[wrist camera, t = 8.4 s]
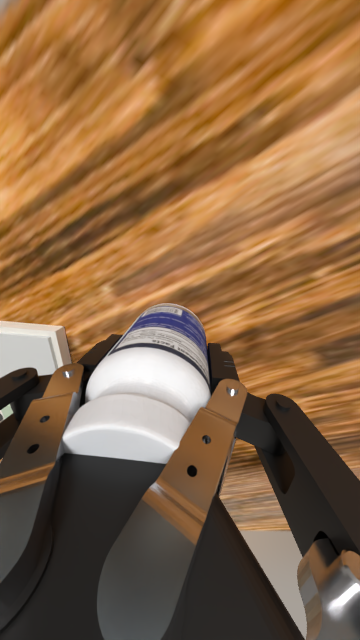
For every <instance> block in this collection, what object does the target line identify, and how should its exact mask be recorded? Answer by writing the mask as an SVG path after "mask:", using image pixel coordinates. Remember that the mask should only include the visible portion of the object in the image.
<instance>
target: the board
mask: <svg viewBox="0 0 360 640" xmlns="http://www.w3.org/2000/svg"><path fill="white" fill-rule="evenodd" d="M71 363H72V362H71V357H70V353H69V348H68V343H67V338H66V334H65V329H64V326H54V325H42V324H31V323H19V322H8V321H0V378H1V377H3V376H5V375H7V374H8V373H10V372H12V371H15V370H18V369H21V368H27V367H32V368H35V369H36V370H37V372H38V376H41V375H50V374H53V373H54V372H55V370H57V369H58V368H60V367H61V366H64V365H67V364H71ZM12 413H13V411H12V409H11V406H10V404H9V405H7V406H6V407H4V408H3V409H2V410H0V422H2V421H3V420H4V419H6V418H7V417H8V416H10V415H11V414H12Z"/></svg>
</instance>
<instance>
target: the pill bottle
mask: <svg viewBox="0 0 360 640" xmlns="http://www.w3.org/2000/svg"><path fill="white" fill-rule="evenodd" d="M210 398H211V386H210V376H209V365H208V354H207V344H206V335H205V330H204V327H203V325H202V323H201V321H200V320H199V319H198V317H197V316H196V315H195V314H194V313H193V312H191V311H190V310H188V309H187V308H185V307H183V306H180V305H176V304H170V303H166V304H159V305H155V306H152V307H150V308H148V309H147V310H145V311H144V312H143V313H142V314H141V315H140V316H139V317H138V318H137V319H136V320H135V322H134V323H133V324H132V325H131V326H130V328H129V329H128V330H127V331H126V333H125V334H124V335H123V336H122V337H121V339H120V340H119V341H118V342H117V343H116V344H115V346H114V347H113V348H112V349H111V350H110V351H109V353H108V354H107V355H106V356H105V357H104V359H103V360H102V361H101V362H100V363H99V365H98V366H97V367H96V369H95V370H94V372H93V373H92V375H91V377H90V379H89V381H88V384H87V388H86V394H85V404H84V405H83V406H82V407H81V408H79V410H78V411H77V412H76V413H75V414H74V416H73V417H72V419H71V421H70V422H69V424H68V426H67V428H66V430H65V431H64V433H63V436H62V442H63V446H64V449H65V452H64V453H71V454H81V455H91V456H101V457H111V458H120V459H129V460H137V461H146V462H154V463H163V464H167V462H168V461H169V459H170V457H171V456H172V454H173V452H174V451H175V450H176V449H177V448H178V447H179V444H180V441H181V439H182V437H183V436H184V434H185V432H186V430H187V429H188V427H189V425H190V424H191V422H192V420H193V419H194V417H195V415H196V414H197V412H198V410H199V409H200V408H201V407H202V406H203V407H206V405H207V403H208V401H209V400H210Z"/></svg>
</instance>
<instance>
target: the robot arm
mask: <svg viewBox="0 0 360 640" xmlns="http://www.w3.org/2000/svg"><path fill="white" fill-rule="evenodd" d="M122 336H123V335H117V334H112V335H110V336H109V337H108V338H107V339H106V340H103V341H101V342H99V343H97V344H96V345H95V346H94V347H93V348H92V349H91V350H90V351H89V352H88V353H86V354H85V355H84V356H83V357H82V358H81V359H80V360H79V361H78V362H77V363H71V364H67V365H64V366H61V367H60V368H58V369H57V370H55V372H54V373H53V374H50V375H41V376H38V372H37V370H36V369H35V368H32V367H27V368H21V369H18V370H15V371H12V372H10V373H8V374H7V375H5V376H3V377H1V378H0V410H2V409H3V408H4V407H6V406H7V405H9V404H10V406H11V409H12V411H13V413H12V414H11V415H10V416H8V417H7V418H6V419H4V420H3V421H2V422H0V460H1V459H2V458H3V459H2V461H1V463H0V640H305V639H304V638H303V636H302V634H301V632H300V631H299V629H298V627H297V626H296V624H295V622H294V621H293V619H292V618H291V616H290V614H289V612H288V611H287V609H286V607H285V606H284V604H283V602H282V601H281V599H280V598H279V596H278V594H277V593H276V591H275V589H274V588H273V586H272V585H271V583H270V581H269V580H268V578H267V576H266V574H265V573H264V571H263V569H262V568H261V566H260V565H259V563H258V561H257V559H256V558H255V556H254V555H253V553H252V551H251V550H250V548H249V547H248V545H247V543H246V541H245V540H244V538H243V536H242V535H241V533H240V531H239V530H238V528H237V526H236V525H235V523H234V521H233V520H232V518H231V516H230V515H229V513H228V512H227V510H226V508H225V507H224V505H223V503H222V502H221V500H220V498H219V496H220V493H221V490H222V486H223V483H224V479H225V475H226V472H227V468H228V465H229V461H230V458H231V455H232V451H233V448H234V445H235V441H236V438H239V439H241V440H243V441H246V442H248V443H250V444H252V445H254V446H255V449H256V451H257V453H258V455H259V458H260V460H261V462H262V465H263V467H264V469H265V472H266V474H267V476H268V479H269V481H270V483H271V485H272V488H273V490H274V492H275V495H276V497H277V499H278V502H279V504H280V506H281V508H282V511H283V513H284V515H285V518H286V520H287V522H288V525H289V527H290V529H291V531H292V534H293V536H294V538H295V541H296V543H297V545H298V548H299V550H300V552H301V554H302V557H303V559H302V560H301V561H300V563H299V566H298V571H297V579H298V586H299V590H300V594H301V597H302V601H303V604H304V608H305V613H306V619H307V636H306V640H360V481H359V479H358V478H357V477H356V476H355V475H354V473H353V472H352V471H351V470H350V468H349V467H348V466H347V465H346V464H345V462H344V461H343V460H342V459H341V457H340V456H339V455H338V454H337V453H336V451H335V450H334V449H333V448H332V446H331V445H330V444H329V443H328V442H327V440H326V439H325V438H324V437H323V435H322V434H321V433H320V432H319V431H318V429H317V428H316V427H315V426H314V424H313V423H312V422H311V421H310V420H309V418H308V417H307V416H306V415H305V413H304V412H303V411H302V410H301V409H300V407H299V406H298V405H297V404H296V403H295V402H294V401H293V400H291V399H290V398H288V397H286V396H283V395H280V394H270V395H268V396H267V397H266V400H265V399H262V398H259V397H256V396H254V395H252V394H250V393H248V392H247V389H246V387H245V386H244V385H243V384H242V383H241V382H240V381H239V378H238V374H237V371H236V368H235V365H234V361H233V358H232V356H231V355H230V354H229V353H228V352H224V351H221V347H220V344H217V343H208V350H207V354H208V365H209V376H210V386H211V398H210V400H209V401H208V403H207V405H206V407H203V406H202V407H201V408H200V409H199V410H198V412H197V414H196V415H195V417H194V419H193V420H192V422H191V424H190V425H189V427H188V429H187V430H186V432H185V434H184V436H183V437H182V439H181V441H180V444H179V447H178V448H177V449H176V450H175V451H174V452H173V454H172V456H171V457H170V459H169V461H168V462H167V464H163V463H154V462H146V461H137V460H129V459H120V458H111V457H101V456H91V455H81V454H71V453H64V452H65V449H64V446H63V442H62V436H63V433H64V431H65V430H66V428H67V426H68V424H69V422H70V421H71V419H72V417H73V416H74V414H75V413H76V412H77V411H78V410H79V408H81V407H82V406H83V405H84V404H85V394H86V388H87V384H88V381H89V379H90V377H91V375H92V373H93V372H94V370H95V369H96V367H97V366H98V365H99V363H100V362H101V361H102V360H103V359H104V357H105V356H106V355H107V354H108V353H109V351H110V350H111V349H112V348H113V347H114V346H115V344H116V343H117V342H118V341H119V340H120V339H121V337H122Z"/></svg>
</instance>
